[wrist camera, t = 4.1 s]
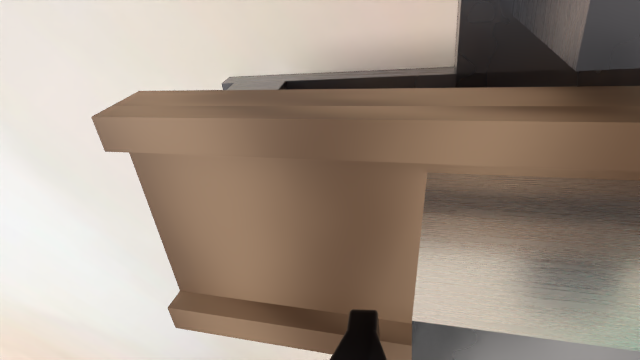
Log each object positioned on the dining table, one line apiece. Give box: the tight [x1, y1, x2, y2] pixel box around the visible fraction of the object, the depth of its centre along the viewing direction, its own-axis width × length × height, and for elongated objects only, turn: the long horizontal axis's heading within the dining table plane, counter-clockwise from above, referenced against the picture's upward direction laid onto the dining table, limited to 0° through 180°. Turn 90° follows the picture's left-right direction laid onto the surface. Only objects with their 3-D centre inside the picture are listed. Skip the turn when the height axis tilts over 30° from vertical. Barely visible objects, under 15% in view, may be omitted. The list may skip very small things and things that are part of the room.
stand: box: [222, 0, 640, 90], centre depth 13 cm, size 22×13×7 cm, turn 96°
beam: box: [92, 86, 640, 360], centre depth 10 cm, size 24×8×2 cm, turn 95°
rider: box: [412, 173, 640, 360], centre depth 8 cm, size 6×5×4 cm
